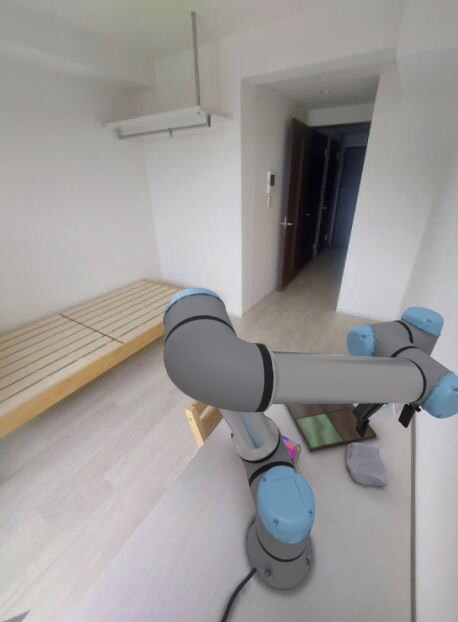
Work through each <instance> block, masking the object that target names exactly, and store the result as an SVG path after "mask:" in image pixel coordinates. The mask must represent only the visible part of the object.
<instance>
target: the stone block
mask: <svg viewBox="0 0 458 622" xmlns="http://www.w3.org/2000/svg"><path fill="white" fill-rule="evenodd" d="M379 449H380V448H379V447H377V446H375V445H373V444H368V443H363V442H353V443H349V444H347V447H346V451H347V452H346V464H347V468H348V473H349V474H350V476H351V478H352V479H353V481H354V482H356V483H358V484H361V485H363V486H374V487H384V486H385V485H386V483H387V473H386V469H385V466H384V463H383V461H382V458H381V455H380V450H379Z"/></svg>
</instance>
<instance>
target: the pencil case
mask: <svg viewBox="0 0 458 622" xmlns="http://www.w3.org/2000/svg"><path fill="white" fill-rule="evenodd" d="M233 435H234V434H233V433H232V432H231V433H230V438H231V439H233ZM281 435H282V439H283V441H284V443H285V446H286V448H287V450H288V453H289V455H290V457H291V460H292V462H293V464H294V467H295V466H296V465H297V463H298V461H299V459H300V455H301V453H302V446H301V444H300V443H299V442H296V441H294V440H293V439H291V438H289V437H287V436H285V435H283V434H281Z"/></svg>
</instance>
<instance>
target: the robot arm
mask: <svg viewBox="0 0 458 622" xmlns="http://www.w3.org/2000/svg"><path fill="white" fill-rule="evenodd" d="M162 318H163V319H162V322H163V326H164V329H163V331H164V332H163V334H164V336H163V354H162V355H163V357H162V358H163V359H162V360H163V365H164V369H165V371H166V374H167V376H168V378H169V379H170V381H171V383H173V385H174V386H175V387H176V388H177V389H178V390H180V392H182V394H184V395H186V396H188V397H189V398H191V399H192V400H194V401H196V402H199V403H200V404H201V403H202V404H204V405H206V406H208V407H213V408H216V409H218V411H219V413H220V414H221V416H222V418H223V419H224V421H225V424H227V427H228V428H229V430H230V432H231V433H233V434H234V435H233V438H232V444H233V448H234V450H235V452H236V454H237V455H238V457H239V459H240V460H241V462H242V465H243V467H244V470H245V476H246V478H247V482H248V486H249V490H250V494H251V498H252V503H253V505H254V510H255V516H254V518H253V519H252V521H251V523H250V525H249V528H248V531H247V537H246V549H247V550H246V551H247V556H248V559H249V563H250V565H251V567H252V570H250V572H249V574H248V575H246V577H245V578H244V579H243V580H242V581H241V583H240V584H238V586H237V587H236V588H235V590H234V591H233V593H232V595H231V597H230V600H229V601H228V603H227V606H226V609H225V611H224V614H223V616H222V619H221V621H220V622H227V619H228V617H229V614H230V611H231V609H232V607H233V606H232V605H233V603H234V602H235V600H236V598H237V596H238V594H239V593H240V591H241V590H242V589H243V588H244V587H245V585H246V584H247V583H248V582H249V581H250V580H251V579H252V577H253V576H254V575H255V574H256V576H257V577H258V578H259V579H260V581H262V582H263V583H264V584H266V585H267V586H268V587H270V588H272V589H275V590H279V591H289V590H293V589H296V588H297V587H299V586H300V585H301V584H302V583H303V582H304V581H305V580H306V579H307V576H308V574H309V572H310V570H311V567H312V566H311V565H312V561H313V549H312V548H313V547H312V545H313V544H312V540H311V536H310V535H311V531H312V528H313V525H314V523H315V514H316V501H315V496H314V493H313V490H312V487H311V485H310V484H309V481H308V480H307V479H306V477H304V475H303V474H302V473H301V472H298V471H297V470H296V467H295V466H294V464H293V462H292V460H291V457H290V455H289V453H288V450H287V448H286V446H285V443H284V441H283V439H282V435H283V434H282V433H281V430H280V428H279V426H278V425H277V424H276V422H275V421H274V420H273V419H272V418H270V417H269V416H267V415H266V414H265V412H267V411H268V410H269V409H270V408H271V406H272V405H286V404H353V405H354V404H356V405H355V406H354V407H355V409H354V410H353V411H352V413H353V415H354V416H355V417H356V418H357V421H356V424H357V426H356V429H355V430H356V431H357V432H358V434H359V435H360V436H361V438H363V437H364V436H365V433H366V430H367V427H368V424H369V425H370V421H371V420H370V418H371V417H372V416H373V415H374V414H376V413H377V412H378V411H379V410H380V409H382V407H384V406H385V405H386V406H387V405H389V404H403V407H402V409H401V412H400V414H399V417H398V418H397V421H398V422H399V423H400V424H401V425H402V427H404V428H405V429H408V428H409V425H410V423H411V422H412V419H413V417H414V415H415V413H421V412H422V411H425V412H426V413H428V414H429V415H430V416H432V417H434V418H436V419H443V420H444V419H448V418H451V417H453V416H455V415H457V414H458V375H457V374H456V373H455V372H454V371H453V370H450V369H449V368H447V367H446V366H445V365H443V364H442V363H440V362H439V361H438V360H436V359H435V358H433V357H432V354H433V351H434V349H435V347H436V345H437V342H438V340H439V338H440V337H441V335H442V334H441V333H442V331H443V327H444V325H445V324H444V323H445V319H444V317H443V316H442V315H441V314H440V313H439V312H437V311H435V310H433V309H430V308H427V307H423V306H410V307H407V308H406V309H405V310H403V313H402V315H400V319H395V320H392V321H391V320H390V321H383V322H374V323H365V324H362V325H356V326H353V327H351V328H350V329H349V331H348V332H347V334H346V340H345V341H346V347H347V351H348V353H349V354H336V353H335V354H334V353H317V352H316V353H315V352H298V351H280V350H279V351H277V350H271V349H270V347H269V346H268V345H267V344H265V343H262V342H249V341H246V340H243V339H241V338H240V337H239V336H238V335H237V332H236V330H235V328H234V325H233V324H232V320H231V319H230V317H229V313H228V312H227V307H226V303H225V302H224V301H223V300H222V299H221V297H220V296H219V295H218V294H217V293H216V292H214V291H213V290H210V289H208V288H205V287H189V288H186V289H183V290H181V291H179V292H177V293H175V295H174V296H172V298H170V299H169V301H168V303H167V305H166V307H165V311H164V313H163V317H162ZM420 407H421V408H420Z"/></svg>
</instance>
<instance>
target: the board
mask: <svg viewBox="0 0 458 622" xmlns="http://www.w3.org/2000/svg"><path fill="white" fill-rule="evenodd" d="M285 406H286V408H287V411H288V412H289V414H290V416H291V417H292V420H293V421H294V423H295V425H296V427H297V430H298V432H299V433H300V435H301V437H302V439H303V441H304V443H305V444H306V447H307V449H308V451H309V452H310V453H311V452H317V451H321V450H326V449H331V448H335V447H339V446H344V445H349V444H351V443H359V442H362V441H366V440H371V439H375V438H377V435H378V434H377V433H376V432H375V430H374V429H373V428H372V427H371V426H370V423H369V424H368V427H367V430H366V433H365V436H364V437H363V438H361V436H360V435H359V434H358V432H357V431H356V430H355V429H356V426H357V424H356V421H357V418H356V417H355V416H354V415H353V413H352V411H353V410H354V409H355V407H356V406H354V403H353V404H285Z"/></svg>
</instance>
